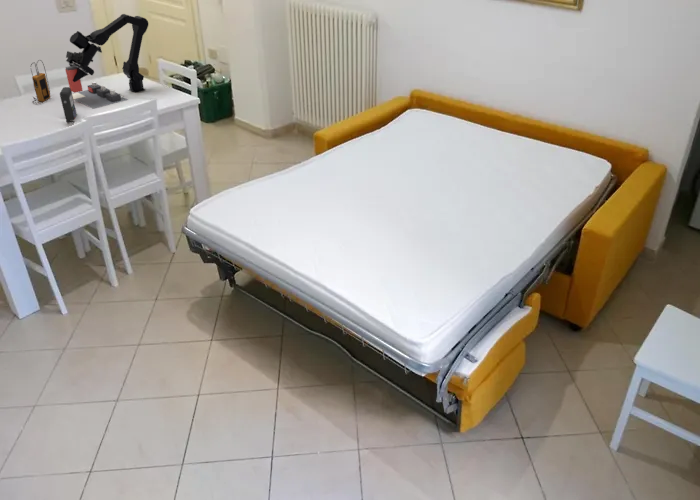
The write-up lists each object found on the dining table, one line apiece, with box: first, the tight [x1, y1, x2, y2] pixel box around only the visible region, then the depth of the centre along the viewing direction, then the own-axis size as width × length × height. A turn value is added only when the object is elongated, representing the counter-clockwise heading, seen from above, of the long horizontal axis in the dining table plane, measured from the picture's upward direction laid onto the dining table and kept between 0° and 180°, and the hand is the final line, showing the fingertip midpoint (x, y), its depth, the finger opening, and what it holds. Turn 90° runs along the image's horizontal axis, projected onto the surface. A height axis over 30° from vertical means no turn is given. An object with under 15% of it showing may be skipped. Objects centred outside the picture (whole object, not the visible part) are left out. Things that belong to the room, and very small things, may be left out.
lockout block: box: [64, 65, 84, 93], centre depth 298 cm, size 5×4×12 cm
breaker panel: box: [72, 81, 129, 110], centre depth 308 cm, size 22×28×6 cm
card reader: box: [59, 86, 78, 124], centre depth 282 cm, size 9×4×15 cm, turn 12°
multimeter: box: [30, 59, 51, 105], centre depth 303 cm, size 15×10×20 cm
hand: (71, 80), depth 297 cm, fingers closed on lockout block, 4 cm apart
